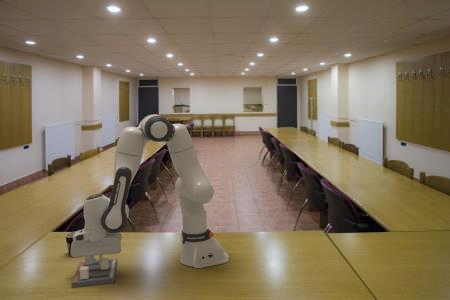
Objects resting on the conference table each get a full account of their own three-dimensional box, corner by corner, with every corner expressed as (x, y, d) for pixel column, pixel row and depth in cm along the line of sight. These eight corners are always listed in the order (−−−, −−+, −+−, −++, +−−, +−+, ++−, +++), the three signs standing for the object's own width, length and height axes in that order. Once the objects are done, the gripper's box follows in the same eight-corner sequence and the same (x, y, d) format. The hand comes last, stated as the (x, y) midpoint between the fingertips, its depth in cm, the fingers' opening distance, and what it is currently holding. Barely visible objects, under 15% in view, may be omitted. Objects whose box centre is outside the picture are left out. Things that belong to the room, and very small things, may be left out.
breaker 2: (93, 261, 162) (93, 252, 162) (92, 264, 159) (92, 255, 159) (86, 262, 162) (85, 253, 161) (85, 264, 159) (84, 256, 158)
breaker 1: (89, 275, 149) (88, 265, 148) (88, 278, 146) (87, 269, 145) (81, 276, 148) (80, 266, 148) (80, 279, 145) (79, 269, 145)
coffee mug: (67, 252, 179) (65, 232, 178) (85, 249, 182) (84, 230, 181) (65, 261, 169) (64, 240, 167) (85, 258, 172) (84, 238, 170)
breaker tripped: (108, 266, 157) (108, 257, 157) (108, 269, 154) (107, 260, 154) (101, 266, 156) (101, 258, 156) (100, 269, 154) (100, 260, 153)
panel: (117, 262, 166) (117, 258, 166) (114, 283, 147) (113, 278, 147) (80, 266, 163) (79, 262, 162) (71, 287, 143) (71, 282, 143)
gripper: (122, 228, 158) (123, 259, 160) (71, 232, 154) (73, 263, 155) (121, 233, 152) (122, 265, 154) (68, 237, 148) (70, 270, 149)
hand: (97, 264), depth 154 cm, fingers closed
